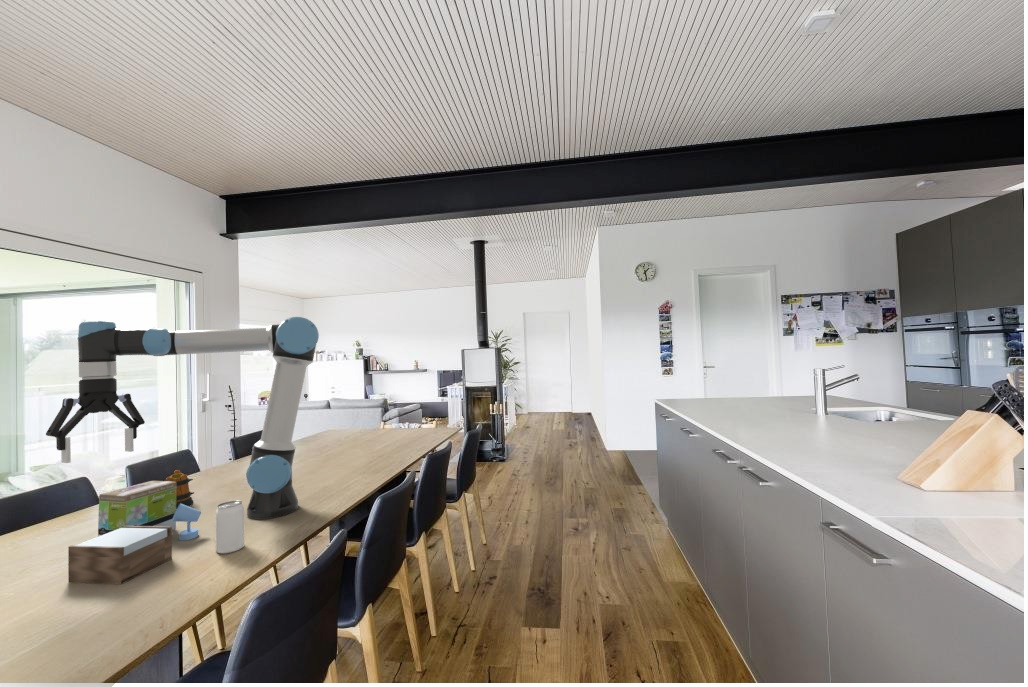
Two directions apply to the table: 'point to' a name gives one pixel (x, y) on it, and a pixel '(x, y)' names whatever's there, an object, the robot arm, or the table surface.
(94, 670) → the table surface
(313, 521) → the table surface
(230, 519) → the can
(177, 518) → the spotlight
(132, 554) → the walnut box
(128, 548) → the cover plate
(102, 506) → the tea box
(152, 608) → the table surface
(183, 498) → the mug
